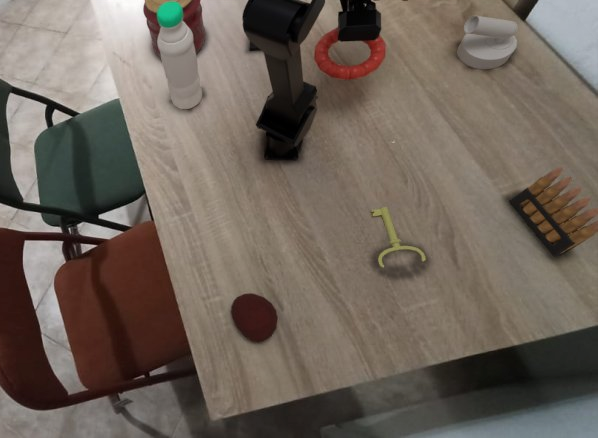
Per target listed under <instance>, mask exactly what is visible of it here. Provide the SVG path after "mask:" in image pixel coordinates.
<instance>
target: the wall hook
mask: <svg viewBox="0 0 598 438" xmlns="http://www.w3.org/2000/svg"><path fill="white" fill-rule="evenodd" d="M463 30H464V33H465V35H464V36H463V37H462V39H461V42H460V43H459V45H458V47H457V50H456V51H457V57H458V59H459V60H460V62H462V63H463V64H464V65H466V66H468V67H470V68H473V69H477V70H491V69H495V68H498V67H501V66H502V65H504V64H505V63H507V61H508V60H509V59H510V57H511V56H512V54H513V53H514V52H515V50H516V49H517V45H518V41H517V38H516V36H515V35H516V34H517V33H518V30H519V26H518V24H517V22H515V21H513V20H508V19H507V20H506V19H502V18H495V17H488V16H482V15H472V16H470V17H469V18H467V20H466V21H465V23H464V26H463Z"/></svg>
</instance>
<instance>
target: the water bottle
mask: <svg viewBox="0 0 598 438" xmlns="http://www.w3.org/2000/svg"><path fill="white" fill-rule="evenodd" d="M157 19H158V22H159V24H160V26H161V28H160V33H159V36H158V40H157V44H158V48H159V50H160V54H161V58H160V59H161V63H162V67H163V72H164V74H165V78H166V80H167V87H168V90H169V95H170V99H171V102H172V104H173V105H174V107H176V108H177V109H181V110H188V109H192V108H194V107H196V106H197V105H198V104H200V102H201V100H202V98H203V89H202V85H201V77H200V74H199V67H198V66H199V65H198V59H197V58H198V57H197V53H196V52H195V47H194V43H193V33H192V31H191V29H190V28H189V27H188V26H187V25H186V24H185V22H184V21H183V9H182V7H181V5H180V4H179V3H177V2H175V1H170V2H166V3H164V4H162V5H161V6H160V7H159V8H158V11H157Z"/></svg>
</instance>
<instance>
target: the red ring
mask: <svg viewBox="0 0 598 438" xmlns="http://www.w3.org/2000/svg"><path fill="white" fill-rule="evenodd" d="M337 35H338V26H337V27H334V28H333V29H332V30H330V31H328V32H326V33H324V35H322V37H320V39H319V40H318V42H317V43H316V44H315V47H314V54H313V55H314V57H313V60H314V62H315V64H316V66H317V68H318V70H319V71H320V72H322V73H323V74H325V75H326V76H328V77H330V78H332V79H338V80H343V81H351V80H358V79H363V78H365V77H367V76H368V75H370V74H372V73H374V72H376V71H377V70H378V69H379V67H380V66H381V64H382V63H383V62H384V60H385V58H386V54H387V53H386V52H387V51H386V50H387V43H386V41H385V40H384V39H383V37H382V36H381V34H380V35H379V38H377V39H376V40H370V41H361V42H362V43H364V44H365V45H367V47H368V49H369V50H370V52H369V56H368V57H367V59H366V60H364V61H362V62H361V63H358V64H353V65H343V64H339V63H337V62H335V61H334V60H332V59H331V56H330V55H329V53H330V52H329V51H330V49H331V48H332V46H333V45H334V44H336V43H338V42H340V41H339V40H337Z"/></svg>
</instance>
